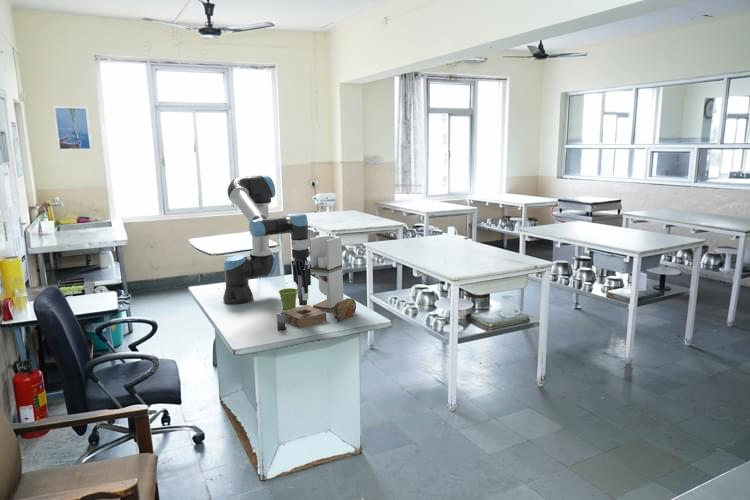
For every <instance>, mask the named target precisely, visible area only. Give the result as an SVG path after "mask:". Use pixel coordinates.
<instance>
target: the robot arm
mask: <svg viewBox="0 0 750 500" xmlns="http://www.w3.org/2000/svg"><path fill="white" fill-rule="evenodd" d="M227 195H228V199H229V200H230V201H231V203H232V204H234V205H236V206H237V207H238V208H239V210H240V212H241V213H242V214H243V216H244V217H245V218H246V220H247V221H248V222H249V224H248V229H249V233H250V235H251V239H252V242H251V243H252V249H251V250H250V252H249V256H247V255H246V254H236V255H233V256H229V257H227V258H226V259H225V260H224V262H223V270H224V282H225V290H224V294H223V298H222V299H223V303H224V304H227V305H240V304H246V303H250V302H252V301H253V300H254V295H253V294H254V293H253V292H252V290H251V287H250V285H249V283H250V282H249V280H251V279H258V278H267V277H269V276H272V275H274V274H275V272H276V270H277V257H276V255H275V254H273V251H272V250H271V249H270V238H269V237H270V236H274V235H284V234H290V237H291V238H290V239H291V248H292V250H291V256H292V258H293V259H294V260H291V261H290V262H291V266H292V267H291V268H292V277H293V282H294V283H295V284H296V289H297V295H296V297H297V299H298V300H299V291H298V274H301V276H302V283H303V285H302V299H303V301H304V300H307V301H308V300H309V286H311V285H312V276H311V275H312V274H311V263H308V258H310V243H309V227H308V226H309V225H308V224H309V222H308V215H307V214H305V213H292V214H291V215H282V216H280V217H271V218H270V217H269V205H270V204H271V203H272V199H273V198H274V197H275V196H276V187H275V183H274V181H273V179H272V177H270V176H269V175H263V174H262V175H247V176H243V175H242V176H238V177H236V178H234V179H232V181H230V183H229V184H228V187H227Z"/></svg>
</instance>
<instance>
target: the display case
mask: <svg viewBox="0 0 750 500" xmlns="http://www.w3.org/2000/svg"><path fill="white" fill-rule="evenodd" d="M308 242H309V258H310V259H309V260H310V263H309V264H311V275H315V276H318V289H319V291H320V293H321V294H323V295H324V296H325V297H326V299H324V300H322V301H320V302H317V303H315V304H313V305H312V307H314V308H316V309H319V310H321V311H324V312H326V313H332V312H333V313H334V306H335V305H336V304H337V303H338V302H340V301H343V300H345V299H344V278H343V277H344V275H343V254H342V252H343V249H342V236H337V235H336V236H334V235H325V234H324V235H319V236H316V237H312V238H310V239H309V238H308Z"/></svg>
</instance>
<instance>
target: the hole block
mask: <svg viewBox="0 0 750 500" xmlns="http://www.w3.org/2000/svg"><path fill="white" fill-rule="evenodd" d="M281 313H285V323H288V324H291V325H293V326H295V327H298V328H299V329H301V328H305V327H309V326H313V325H316V324H320V323H324V322H327V312H325V311H321V310H319V309H316V308H314V307H313V306H311V305H308V304H307V305H304V306H301V305H300V306H297V307H295V308H291V309H284V310H282V311H281Z"/></svg>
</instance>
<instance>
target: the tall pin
mask: <svg viewBox="0 0 750 500" xmlns="http://www.w3.org/2000/svg"><path fill="white" fill-rule="evenodd" d="M302 285H303V283H302V276H301V274H298V291H299V299H298V305H299V306H300V307H301V306H305V305H308V300H304V301H303V299H302Z"/></svg>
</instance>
